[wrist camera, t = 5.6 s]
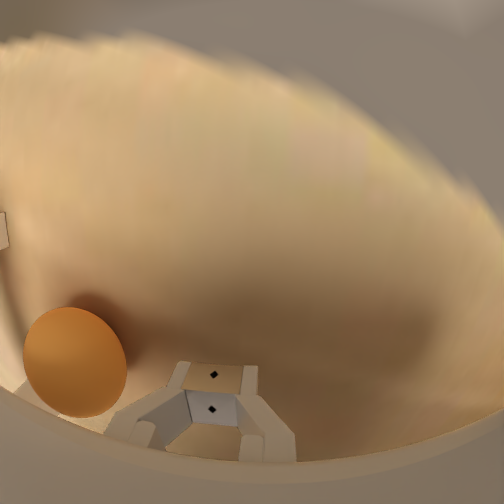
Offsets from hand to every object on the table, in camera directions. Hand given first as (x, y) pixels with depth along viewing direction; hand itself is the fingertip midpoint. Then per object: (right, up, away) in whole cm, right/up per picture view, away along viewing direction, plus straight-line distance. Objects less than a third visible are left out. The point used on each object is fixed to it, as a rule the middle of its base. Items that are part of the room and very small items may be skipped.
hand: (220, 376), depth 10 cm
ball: (-7, 0, 0) cm, 7 cm away
